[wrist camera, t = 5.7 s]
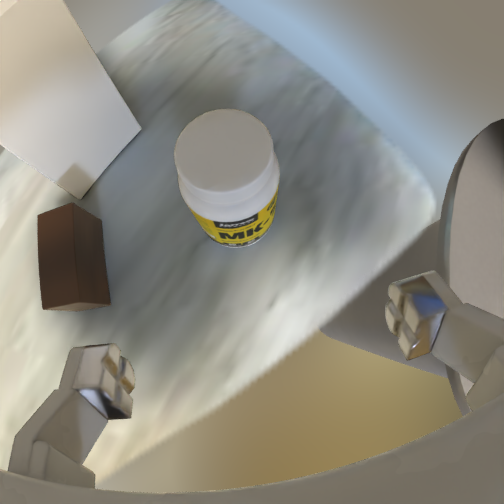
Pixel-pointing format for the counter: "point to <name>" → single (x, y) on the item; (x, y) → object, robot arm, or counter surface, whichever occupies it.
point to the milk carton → (57, 96)
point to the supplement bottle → (228, 175)
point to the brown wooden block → (71, 260)
